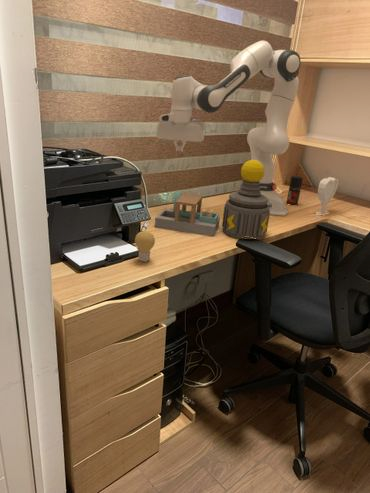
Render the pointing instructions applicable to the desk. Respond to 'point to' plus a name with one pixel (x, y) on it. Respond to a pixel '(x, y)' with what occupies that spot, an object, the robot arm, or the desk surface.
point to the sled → (197, 215)
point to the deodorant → (294, 190)
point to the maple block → (207, 213)
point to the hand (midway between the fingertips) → (179, 151)
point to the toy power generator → (247, 205)
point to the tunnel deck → (186, 223)
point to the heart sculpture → (326, 192)
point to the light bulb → (144, 244)
